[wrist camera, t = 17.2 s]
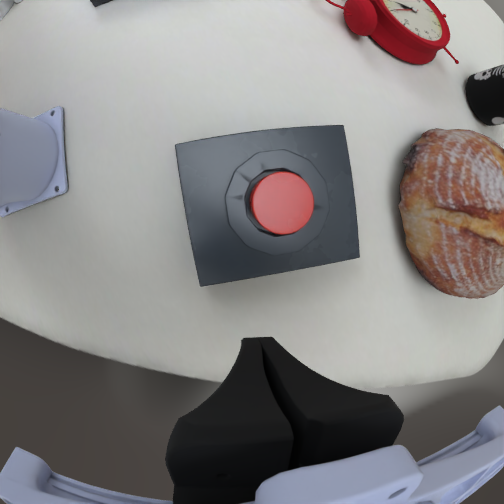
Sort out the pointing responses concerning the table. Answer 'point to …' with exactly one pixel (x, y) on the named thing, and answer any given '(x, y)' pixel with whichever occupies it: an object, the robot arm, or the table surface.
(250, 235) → the button box
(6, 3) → the vase
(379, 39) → the alarm clock
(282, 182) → the button
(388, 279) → the table surface
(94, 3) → the panel
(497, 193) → the bread
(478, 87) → the beverage can
